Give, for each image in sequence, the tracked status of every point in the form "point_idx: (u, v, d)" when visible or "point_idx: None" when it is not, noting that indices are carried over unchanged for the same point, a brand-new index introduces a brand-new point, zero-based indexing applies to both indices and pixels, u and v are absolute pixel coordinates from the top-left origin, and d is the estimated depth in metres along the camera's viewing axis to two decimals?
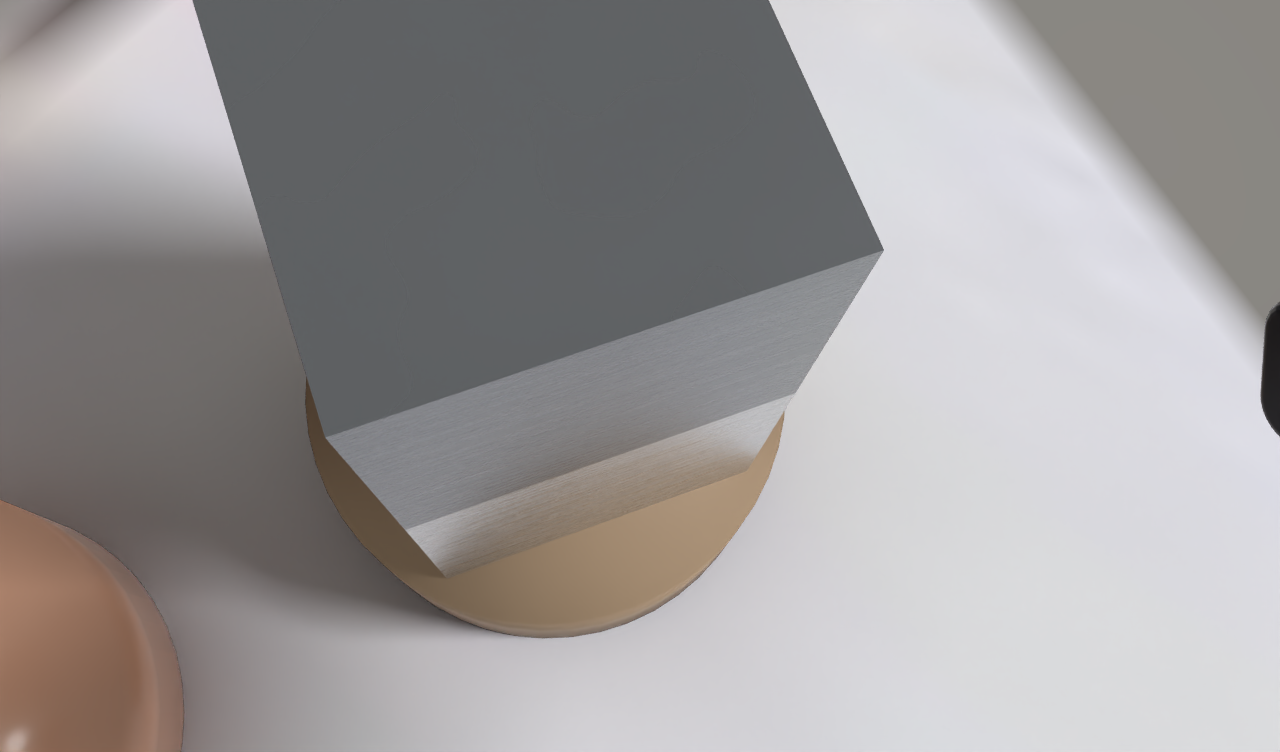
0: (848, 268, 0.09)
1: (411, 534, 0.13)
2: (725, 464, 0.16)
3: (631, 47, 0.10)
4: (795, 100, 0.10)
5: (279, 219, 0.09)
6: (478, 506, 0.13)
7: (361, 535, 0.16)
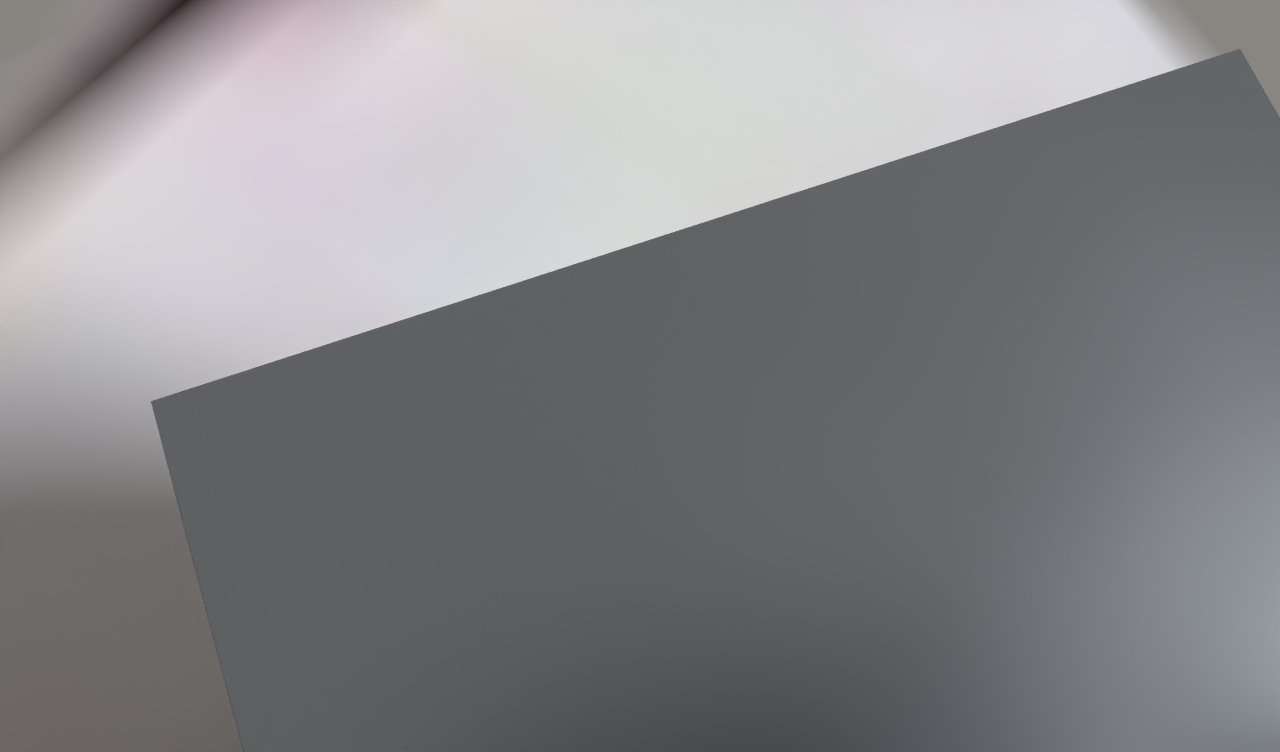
0: None
1: None
2: None
3: (1227, 662, 0.04)
4: None
5: None
6: None
7: None
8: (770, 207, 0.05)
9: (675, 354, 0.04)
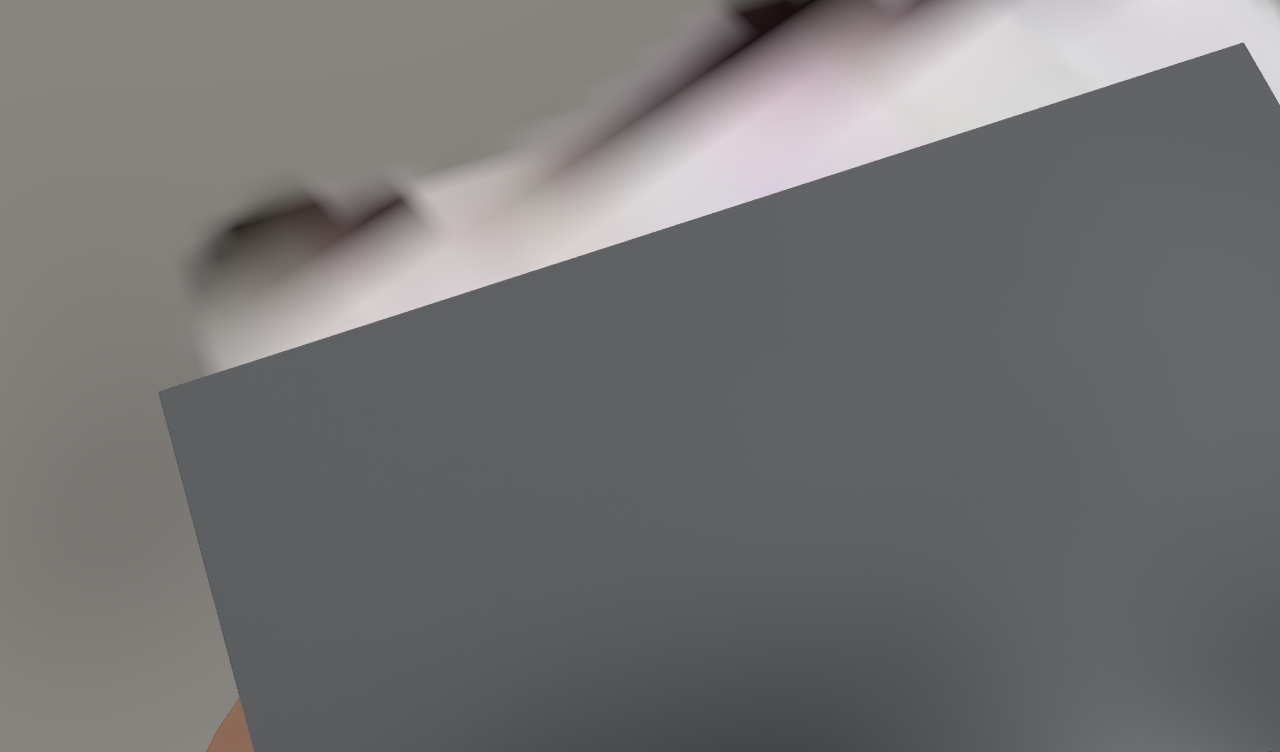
0: None
1: None
2: None
3: (1230, 652, 0.04)
4: None
5: None
6: None
7: None
8: (777, 200, 0.05)
9: (680, 346, 0.04)
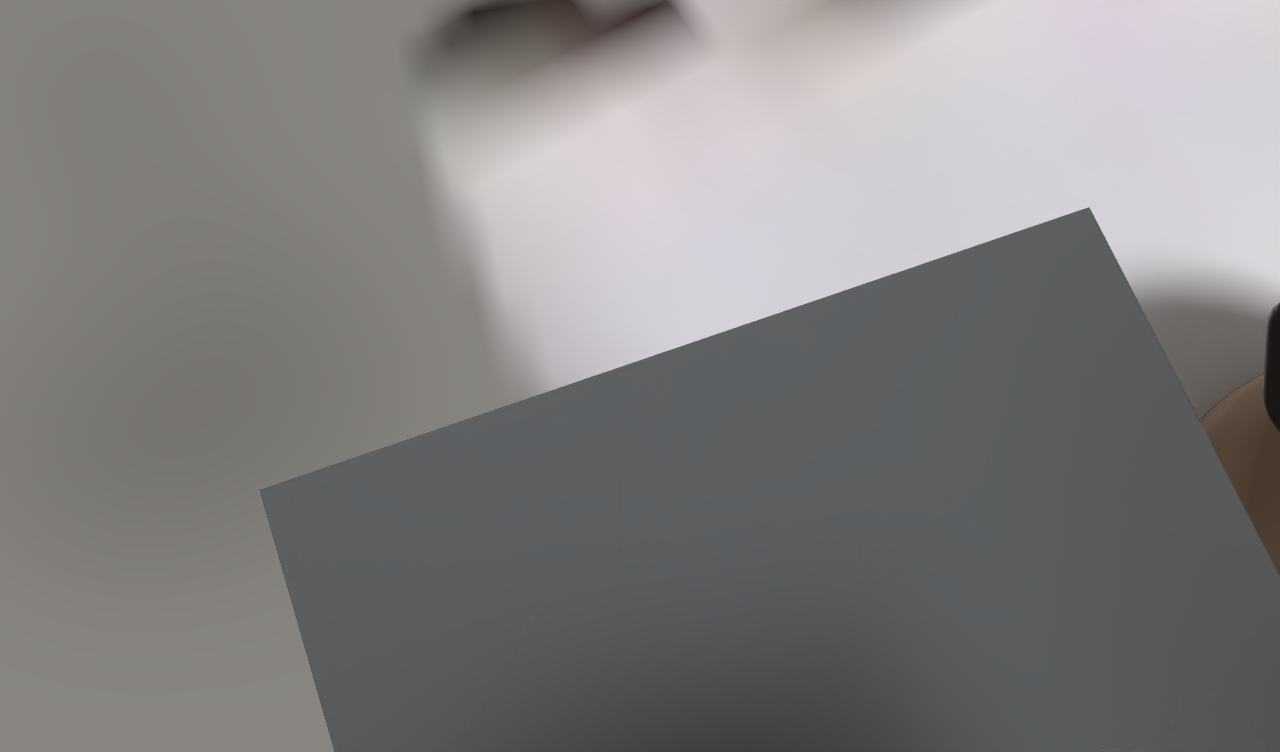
0: None
1: None
2: None
3: (1060, 683, 0.05)
4: None
5: None
6: None
7: None
8: (723, 335, 0.06)
9: (650, 451, 0.06)
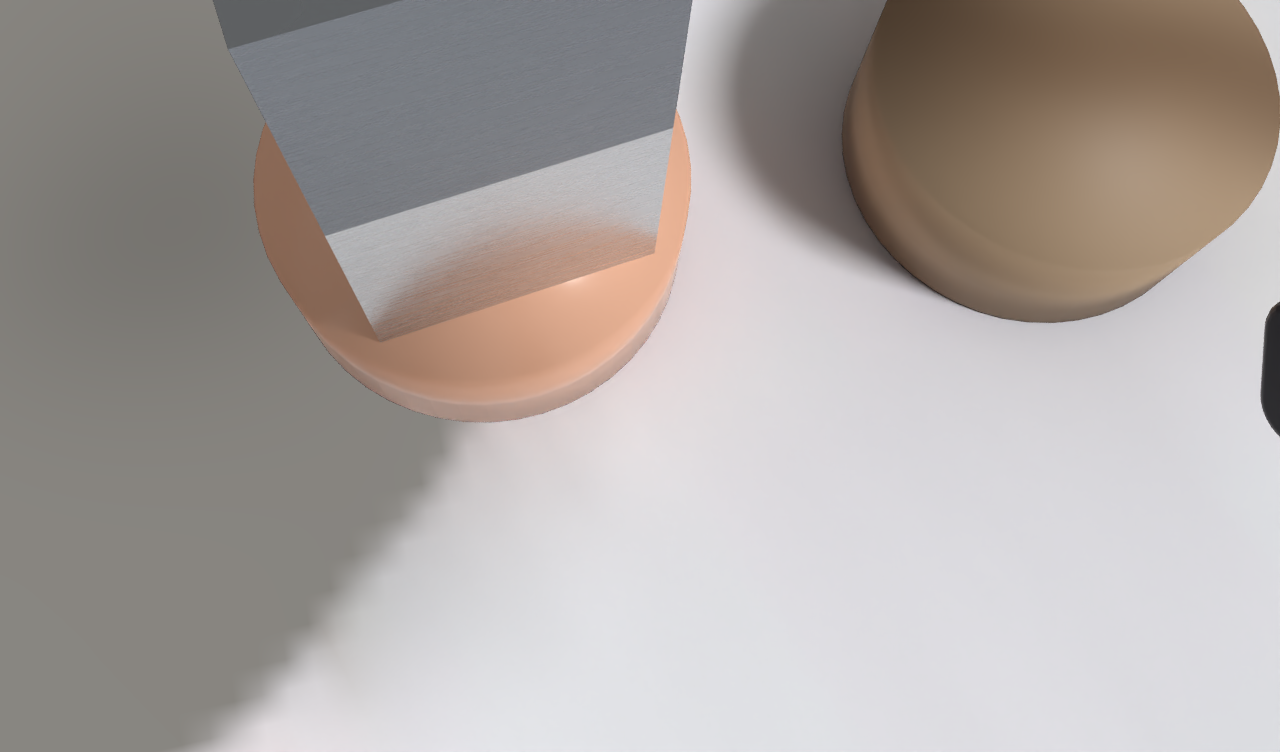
0: None
1: (332, 246, 0.14)
2: (629, 232, 0.17)
3: None
4: None
5: None
6: (390, 219, 0.14)
7: (901, 148, 0.19)
8: None
9: None
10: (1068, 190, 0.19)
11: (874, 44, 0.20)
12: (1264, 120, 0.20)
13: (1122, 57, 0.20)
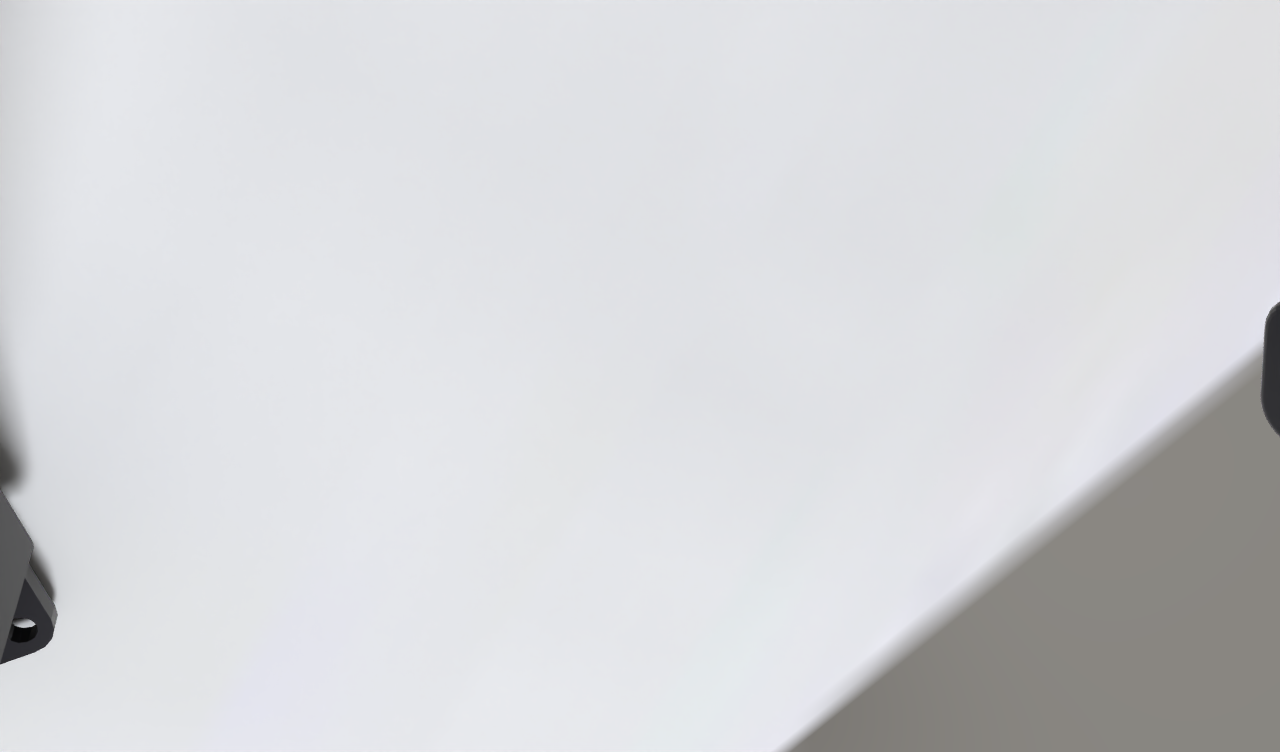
0: None
1: None
2: None
3: None
4: None
5: None
6: None
7: None
8: None
9: None
10: None
11: None
12: None
13: None
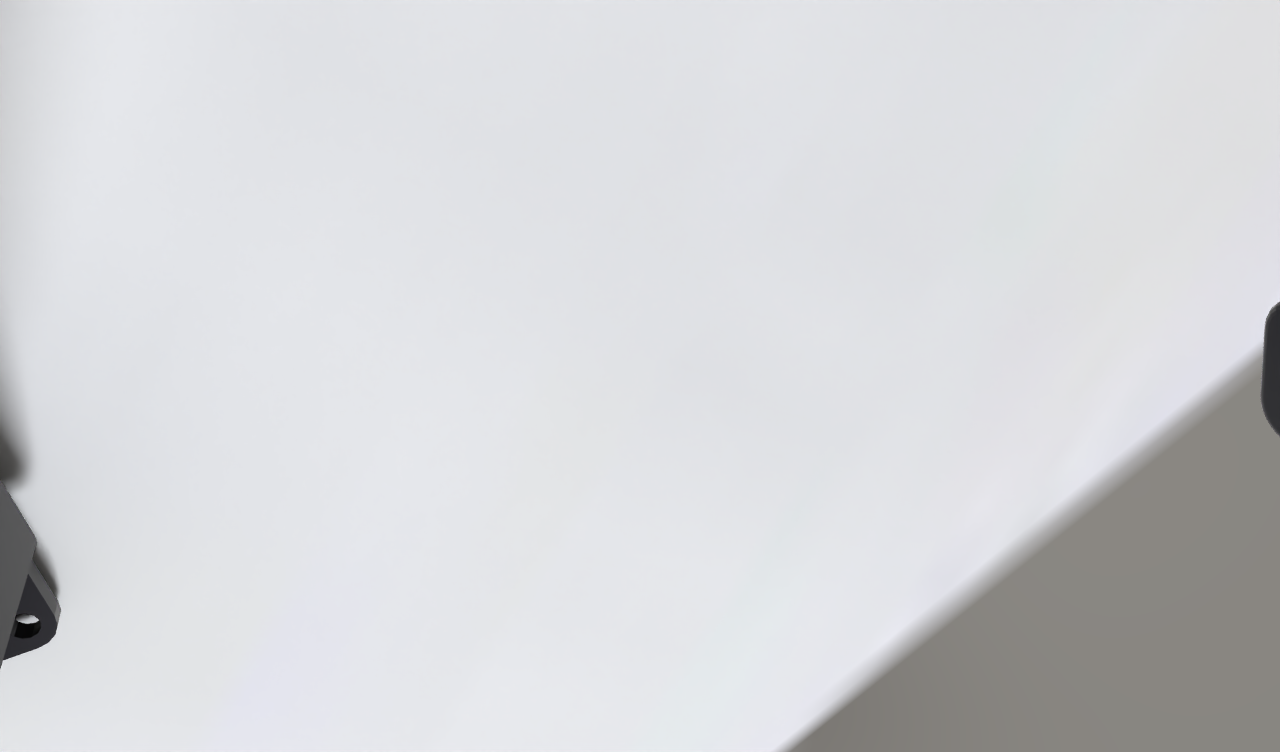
0: None
1: None
2: None
3: None
4: None
5: None
6: None
7: None
8: None
9: None
10: None
11: None
12: None
13: None
